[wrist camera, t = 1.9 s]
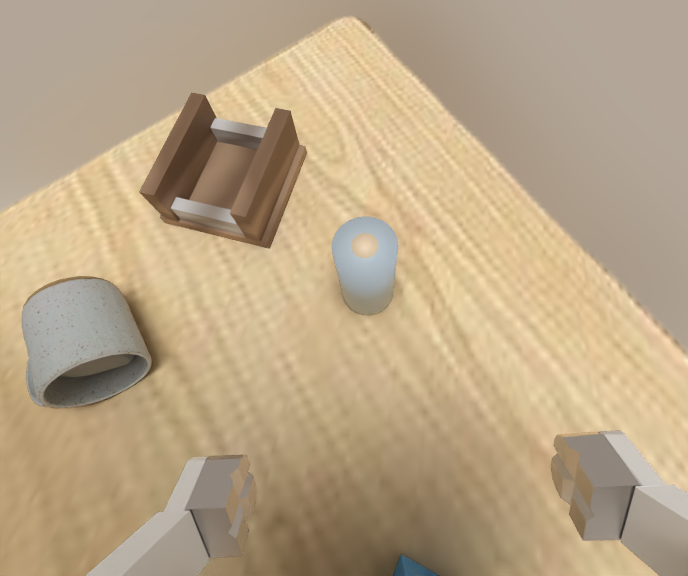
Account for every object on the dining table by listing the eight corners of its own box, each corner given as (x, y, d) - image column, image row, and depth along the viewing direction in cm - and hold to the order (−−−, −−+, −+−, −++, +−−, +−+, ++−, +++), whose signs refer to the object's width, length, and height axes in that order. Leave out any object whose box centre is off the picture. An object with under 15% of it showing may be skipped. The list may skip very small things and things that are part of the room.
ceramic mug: (135, 288, 37) (75, 254, 30) (170, 363, 34) (113, 345, 27) (29, 351, 36) (-60, 332, 29) (56, 434, 33) (-34, 435, 26)
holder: (165, 222, 39) (132, 190, 34) (208, 133, 43) (185, 91, 37) (269, 248, 37) (252, 218, 32) (306, 152, 41) (296, 112, 36)
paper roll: (344, 317, 35) (333, 278, 26) (341, 269, 36) (330, 218, 28) (395, 313, 34) (401, 273, 26) (390, 265, 36) (394, 213, 27)
